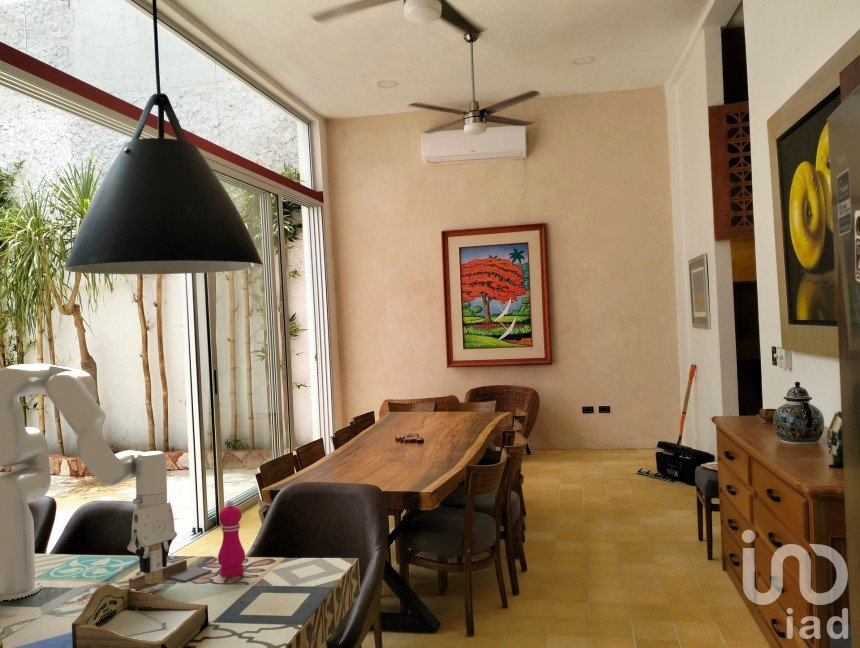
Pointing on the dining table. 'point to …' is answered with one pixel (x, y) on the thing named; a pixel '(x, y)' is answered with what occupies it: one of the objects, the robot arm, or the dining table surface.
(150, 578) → the sprinkles bottle
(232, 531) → the pepper mill
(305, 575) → the dining table surface
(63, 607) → the dining table surface
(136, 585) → the guide rail
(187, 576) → the end pad
